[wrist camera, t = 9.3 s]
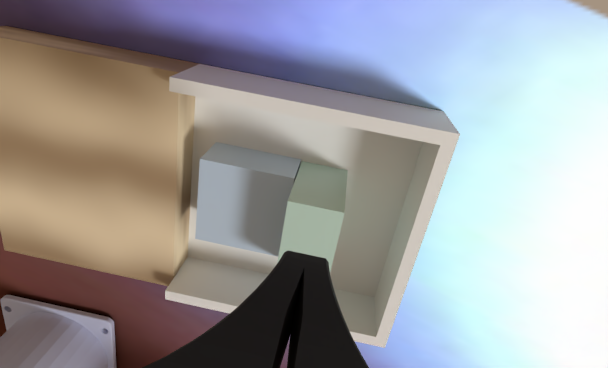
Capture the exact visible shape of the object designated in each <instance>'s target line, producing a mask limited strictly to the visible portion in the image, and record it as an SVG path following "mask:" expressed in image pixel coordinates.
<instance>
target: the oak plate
mask: <svg viewBox="0 0 608 368" xmlns="http://www.w3.org/2000/svg"><path fill="white" fill-rule="evenodd" d="M196 65H198V63H193V62H188V61H183V60H178V59H173V58H168V57H163V56H157V55H152V54H147V53H142V52H137V51H132V50H127V49H122V48H117V47H111V46H106V45H101V44H96V43H91V42H86V41H81V40H76V39H70V38H65V37H60V36H55V35H50V34H45V33H40V32H35V31H29V30H24V29H19V28H14V27H9V26H0V230H1V235H2V240H3V245H4V250H7V251H11V252H16V253H20V254H25V255H29V256H34V257H38V258H43V259H47V260H52V261H57V262H61V263H66V264H70V265H75V266H79V267H84V268H88V269H93V270H97V271H102V272H106V273H111V274H116V275H120V276H125V277H129V278H134V279H138V280H143V281H147V282H152V283H156V284H161V285H166V286H169V284H170V283H171V281H172V280H173V278H174V277H175V275H176V274H177V272H178V271H179V269H180V268H181V266H182V265H183V263H184V262H185V260H186V259H187V257H188V240H189V219H190V198H191V177H192V156H193V135H194V114H195V96H191V95H186V94H181V93H176V92H171V91H169V77H170V76H173V75H175V74H177V73H180V72H182V71H184V70H187V69H189V68H191V67H194V66H196Z"/></svg>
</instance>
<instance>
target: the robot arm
mask: <svg viewBox="0 0 608 368" xmlns="http://www.w3.org/2000/svg"><path fill="white" fill-rule="evenodd" d="M0 302H1V307H2V312H3V316H4V321H5V326H6V330H7V331H6V332H5V333H4V334H3V335H2V336H1V337H0V368H117V366H116V348H115V330H114V322H113V320H112V319H111V318H109V317H106V316H102V315H97V314H93V313H88V312H84V311H79V310H75V309H71V308H66V307H62V306H57V305H53V304H48V303H44V302H39V301H35V300H31V299H26V298H22V297H17V296H13V295H5V296H4V297H3V298H1V300H0ZM289 337H290V344H289V353H288V363H287V368H369V367H368V366H367V364H366V362H365V360H364V359H363V357H362V355H361V353H360V351H359V349H358V348H357V346H356V344H355V342H354V340H353V338H352V336H351V333H350V331H349V329H348V327H347V324H346V322H345V320H344V317H343V315H342V312H341V309H340V306H339V303H338V301H337V298H336V295H335V291H334V288H333V284H332V280H331V276H330V271H329V262H328V261H327V259H326V258H321V257H317V256H312V255H307V254H303V253H298V252H293V251H289V250H288V251H286V252H284V253H283V255H282V257H281V259H280V260H279V262H278V263H277V265H276V266H275V267H274V269H273V270H272V271H271V272H270V274H269V275H268V276H267V277H266V278H265V279H264V281H263V282H262V283H261V284H260V285H259V286H258V287H257V288H256V290H255V291H254V292H253V293H252V294H251V295H249V296H248V297H247V298H246V299H245V300H244V301H243V302H242V303H241V304H240V305H239V306H238V307H237V308H236V309H235V310H234V311H232V312H231V313H230V314H229V315H228V316H226V317H225V318H224V319H223V320H221V321H220V322H219V323H217V324H216V325H215V326H213V327H212V328H210V329H209V330H208V331H206V332H205V333H204V334H202V335H201V336H199V337H198V338H196V339H194V340H193V341H191V342H190V343H188V344H186V345H184V346H183V347H181V348H179V349H178V350H176V351H174V352H172V353H171V354H169V355H167V356H165V357H164V358H162V359H160V360H158V361H156V362H154V363H151V364H149V365H147V366H145V367H143V368H280V365H281V362H282V359H283V356H284V353H285V349H286V346H287V343H288V340H289Z"/></svg>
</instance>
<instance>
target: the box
mask: <svg viewBox="0 0 608 368" xmlns="http://www.w3.org/2000/svg"><path fill="white" fill-rule="evenodd" d="M169 91H171V92H176V93H181V94H186V95H191V96H195V114H194V135H193V156H192V177H191V198H190V219H189V240H188V257H187V259H186V260H185V262H184V263H183V265H182V266H181V268H180V269H179V271H178V272H177V274H176V275H175V277H174V278H173V280H172V281H171V283H170V284H169V286H168V287H167V289H166V290H165V299H167V300H171V301H176V302H180V303H185V304H189V305H194V306H198V307H203V308H207V309H212V310H217V311H221V312H226V313H231V312H232V311H234V310H235V309H236V308H237V307H238V306H239V305H240V304H241V303H242V302H243V301H244V300H245V299H246V298H247V297H248V296H249V295H251V294H252V293H253V292H254V291H255V290H256V288H257V287H258V286H259V285H260V284H261V283H262V282H263V281H264V279H265V278H266V277H267V276H268V275H269V274H270V272H271V271H272V270H273V269H274V267H275V266H276V265H277V262H278V256H273V255H268V254H264V253H259V252H254V251H250V250H245V249H240V248H236V247H231V246H226V245H222V244H217V243H212V242H208V241H203V240H199V239H195V234H196V217H197V199H198V182H199V165H200V158H201V157H202V156H203V155H204V154H205V153H206V152H207V151H208V150H209V149H210V148H211V147H212V146H213V145H214V144H215V143H216V142H219V143H224V144H229V145H233V146H238V147H243V148H248V149H253V150H258V151H263V152H268V153H273V154H277V155H282V156H287V157H292V158H297V159H301V162H302V161H304V162H309V163H314V164H319V165H324V166H329V167H334V168H339V169H344V170H348V173H347V187H346V200H345V213H344V217H343V221H342V226H341V230H340V234H339V238H338V242H337V246H336V250H335V254H334V259H333V263H332V267H331V271H330V276H331V280H332V284H333V288H334V291H335V295H336V298H337V301H338V303H339V306H340V309H341V312H342V315H343V317H344V320H345V322H346V324H347V327H348V329H349V331H350V333H351V336H352V338H353V340H354V341H356V342H361V343H365V344H370V345H374V346H379V347H383V348H385V345H386V343H387V340H388V337H389V334H390V331H391V328H392V326H393V323H394V320H395V317H396V314H397V311H398V309H399V306H400V303H401V300H402V297H403V294H404V291H405V289H406V286H407V283H408V280H409V277H410V274H411V272H412V269H413V266H414V263H415V260H416V257H417V255H418V252H419V249H420V246H421V243H422V240H423V238H424V235H425V232H426V229H427V226H428V223H429V221H430V218H431V215H432V212H433V209H434V206H435V204H436V201H437V198H438V195H439V192H440V189H441V186H442V184H443V181H444V178H445V175H446V172H447V169H448V167H449V164H450V161H451V158H452V155H453V152H454V150H455V147H456V144H457V141H458V138H459V135H460V134H459V132H458V131H457V129H456V128H455V127H454V125H453V124H452V122H451V121H450V119H449V118H448V117H447V115H446V114H445V112H444V111H439V110H434V109H429V108H424V107H419V106H413V105H408V104H403V103H398V102H393V101H388V100H383V99H378V98H372V97H367V96H362V95H357V94H352V93H347V92H342V91H337V90H331V89H326V88H321V87H316V86H311V85H306V84H301V83H296V82H291V81H285V80H280V79H275V78H270V77H265V76H260V75H255V74H250V73H244V72H239V71H234V70H229V69H224V68H219V67H214V66H209V65H204V64H198V65H196V66H194V67H191V68H189V69H187V70H184V71H182V72H180V73H177V74H175V75H173V76H170V77H169ZM300 165H301V164H300Z"/></svg>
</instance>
